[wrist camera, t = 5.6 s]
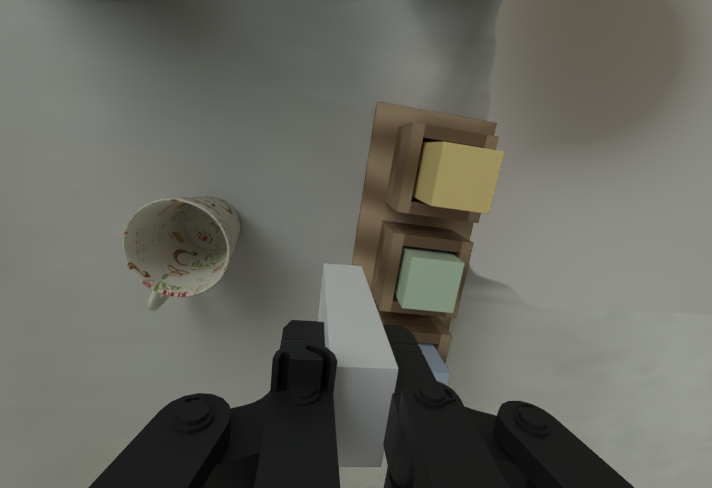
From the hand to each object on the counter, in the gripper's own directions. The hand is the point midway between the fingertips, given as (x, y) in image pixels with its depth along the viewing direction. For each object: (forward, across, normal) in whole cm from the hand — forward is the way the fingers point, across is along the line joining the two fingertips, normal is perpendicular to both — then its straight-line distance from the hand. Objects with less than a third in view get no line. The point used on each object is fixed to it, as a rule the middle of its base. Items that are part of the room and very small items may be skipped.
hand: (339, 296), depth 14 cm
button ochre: (+21, +11, +4) cm, 24 cm away
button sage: (+23, +10, -6) cm, 26 cm away
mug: (+26, -12, -6) cm, 30 cm away
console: (+26, +10, -6) cm, 28 cm away
